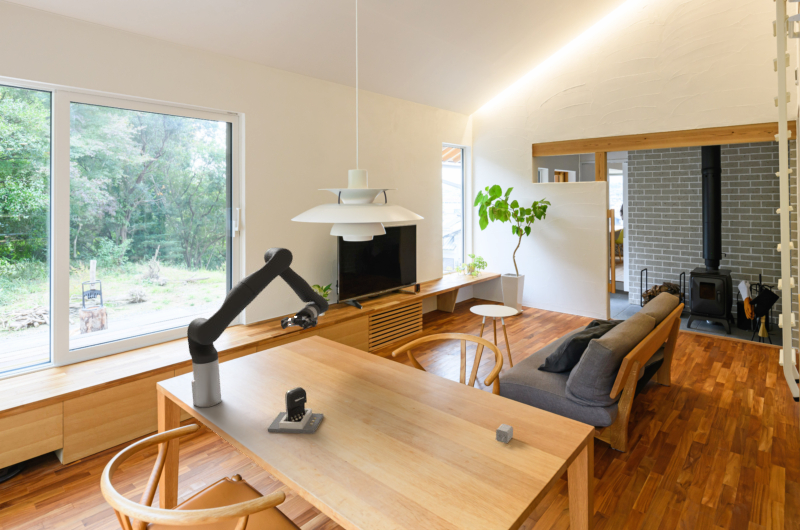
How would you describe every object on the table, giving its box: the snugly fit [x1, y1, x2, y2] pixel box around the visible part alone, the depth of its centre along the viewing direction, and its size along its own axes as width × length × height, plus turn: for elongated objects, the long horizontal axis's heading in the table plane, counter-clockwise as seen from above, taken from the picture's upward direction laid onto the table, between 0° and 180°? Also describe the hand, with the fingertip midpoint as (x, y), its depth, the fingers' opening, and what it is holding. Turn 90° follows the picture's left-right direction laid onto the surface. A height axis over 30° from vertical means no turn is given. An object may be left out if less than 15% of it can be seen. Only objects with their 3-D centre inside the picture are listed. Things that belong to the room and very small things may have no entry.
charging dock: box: [267, 408, 324, 435], centre depth 157 cm, size 16×12×3 cm
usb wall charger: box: [495, 423, 514, 444], centre depth 144 cm, size 4×7×4 cm, turn 145°
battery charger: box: [284, 386, 308, 422], centre depth 156 cm, size 7×4×11 cm, turn 136°
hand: (293, 326), depth 178 cm, fingers open, 8 cm apart
